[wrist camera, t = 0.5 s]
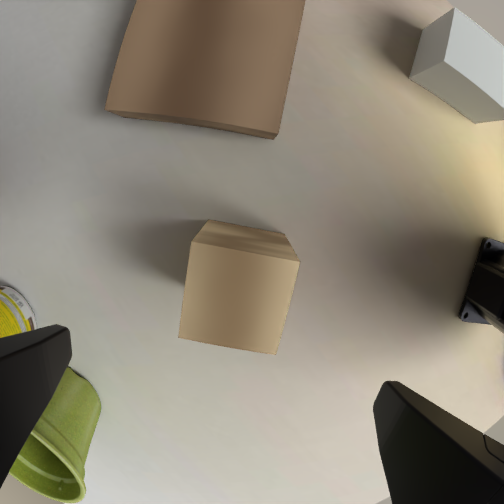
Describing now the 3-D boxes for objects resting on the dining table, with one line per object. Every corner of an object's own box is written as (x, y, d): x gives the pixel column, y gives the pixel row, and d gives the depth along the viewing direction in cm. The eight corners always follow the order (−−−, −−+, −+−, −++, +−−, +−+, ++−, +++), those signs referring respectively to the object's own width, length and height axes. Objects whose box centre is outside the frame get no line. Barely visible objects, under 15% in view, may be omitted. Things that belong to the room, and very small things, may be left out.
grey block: (421, 30, 16) (484, 75, 16) (407, 78, 17) (473, 123, 17) (454, 7, 12) (522, 64, 12) (443, 61, 12) (514, 118, 13)
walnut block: (300, 9, 16) (308, -14, 13) (273, 139, 18) (278, 133, 15) (160, -8, 15) (148, -30, 12) (124, 117, 17) (104, 109, 14)
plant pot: (56, 430, 23) (20, 491, 15) (10, 348, 21) (-47, 402, 13) (137, 433, 23) (109, 511, 15) (89, 339, 21) (31, 413, 12)
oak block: (284, 234, 19) (300, 262, 13) (268, 303, 20) (276, 354, 14) (208, 219, 19) (191, 241, 13) (197, 290, 20) (178, 337, 14)
